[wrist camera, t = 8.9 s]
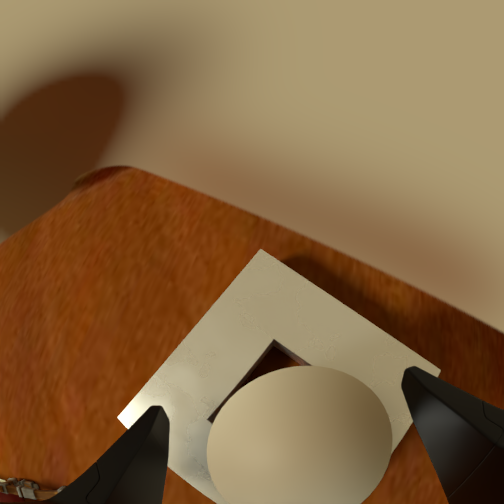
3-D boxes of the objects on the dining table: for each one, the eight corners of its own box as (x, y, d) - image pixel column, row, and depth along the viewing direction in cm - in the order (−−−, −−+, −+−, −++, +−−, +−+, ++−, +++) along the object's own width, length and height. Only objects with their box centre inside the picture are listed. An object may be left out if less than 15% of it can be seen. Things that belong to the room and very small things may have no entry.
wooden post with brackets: (4, 470, 12) (-15, 477, 8) (72, 479, 15) (60, 491, 12) (9, 486, 11) (-9, 495, 8) (78, 495, 15) (67, 509, 11)
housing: (419, 374, 16) (441, 370, 14) (298, 529, 12) (301, 549, 9) (262, 267, 21) (260, 248, 18) (138, 414, 16) (117, 417, 14)
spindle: (324, 418, 16) (417, 467, 4) (268, 446, 15) (259, 548, 4) (295, 368, 18) (340, 332, 6) (240, 395, 17) (175, 413, 5)
